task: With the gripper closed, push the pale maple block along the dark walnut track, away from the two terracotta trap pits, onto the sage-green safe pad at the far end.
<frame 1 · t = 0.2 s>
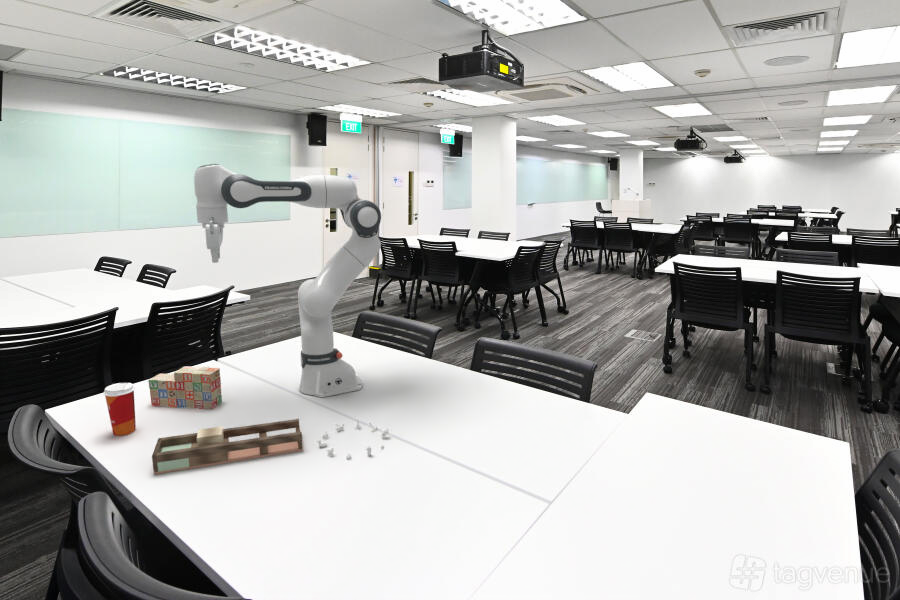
hand: (216, 260, 164), 48 cm above the table, tool pointing down, fingers open, 8 cm apart
stack of blocks: (187, 404, 170), on the table
maple block: (211, 445, 137), point 3 cm above the table, touching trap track
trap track: (232, 452, 139), on the table
game piece set: (353, 444, 146), on the table
paper cup: (124, 432, 150), on the table
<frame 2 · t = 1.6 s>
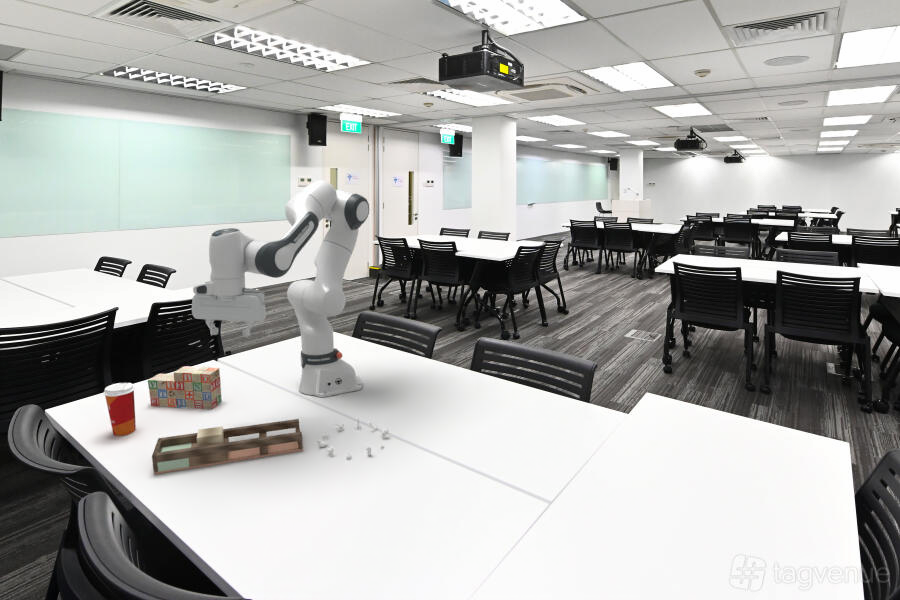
hand: (230, 335, 145), 29 cm above the table, tool pointing down, fingers open, 8 cm apart
nothing on the table moved.
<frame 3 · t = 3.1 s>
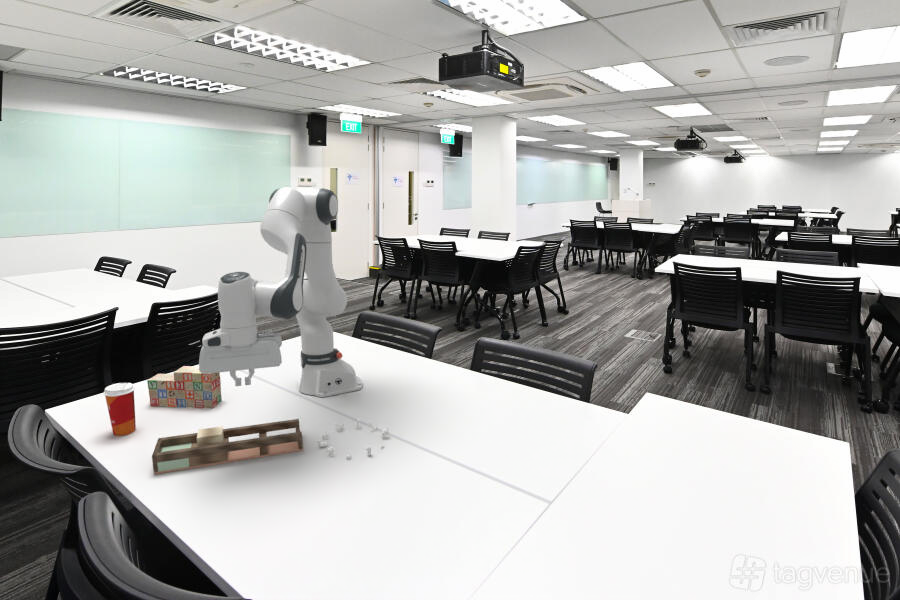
hand: (243, 384, 136), 19 cm above the table, tool pointing down, fingers closed
nothing on the table moved.
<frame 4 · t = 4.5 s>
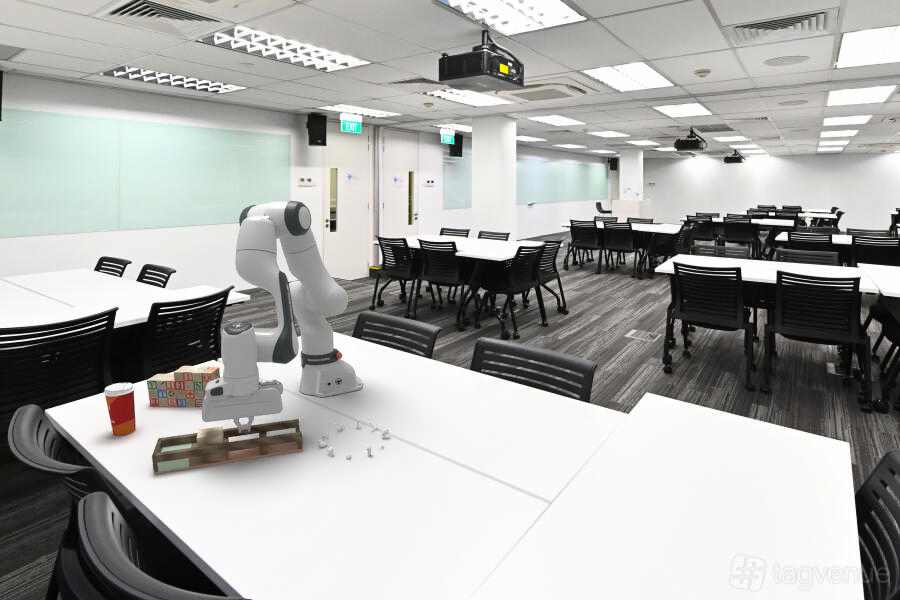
hand: (244, 431, 139), 6 cm above the table, tool pointing down, fingers closed
nothing on the table moved.
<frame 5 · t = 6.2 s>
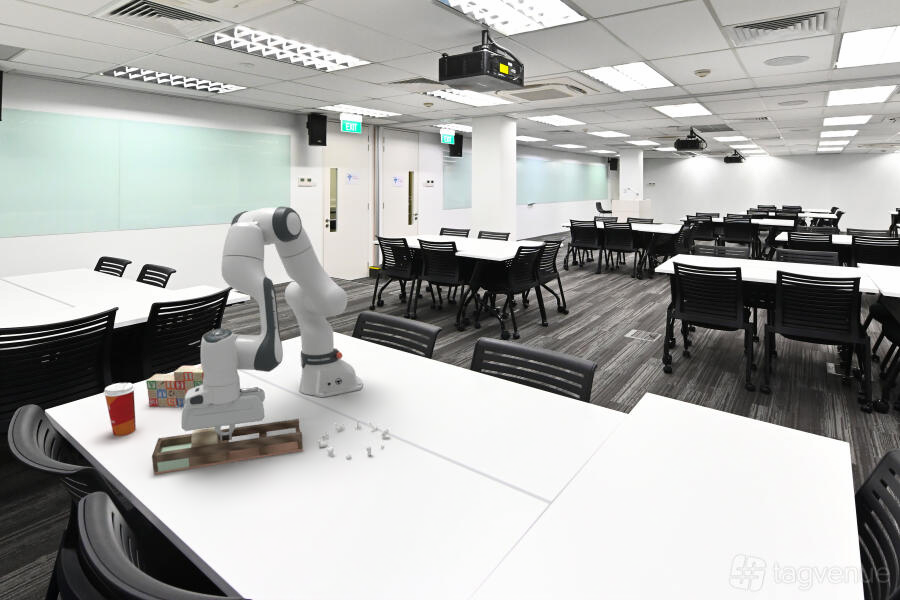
hand: (226, 439, 137), 4 cm above the table, tool pointing down, fingers closed
maple block: (206, 446, 136), point 3 cm above the table, touching gripper
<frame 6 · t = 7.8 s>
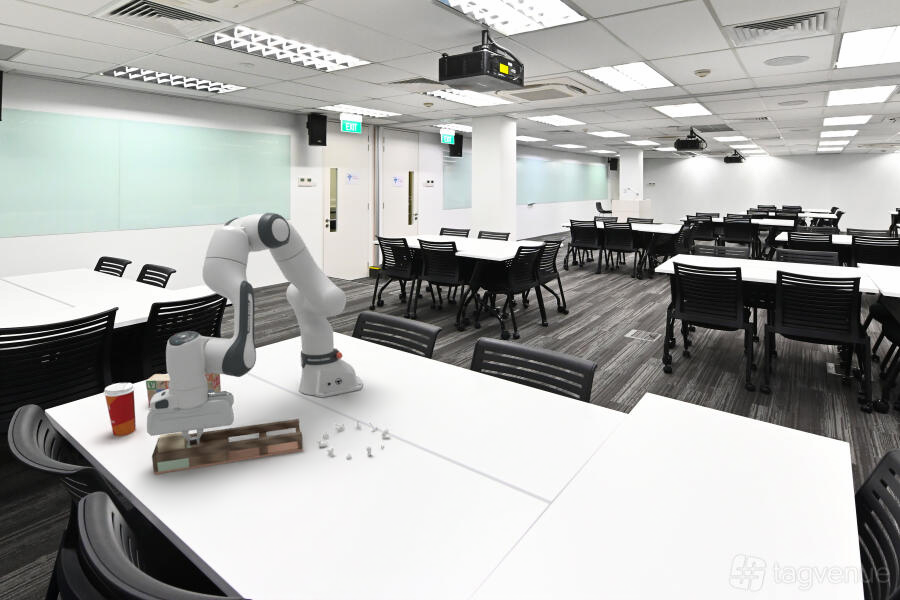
hand: (194, 444, 135), 4 cm above the table, tool pointing down, fingers closed
maple block: (173, 451, 133), point 3 cm above the table, touching gripper, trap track
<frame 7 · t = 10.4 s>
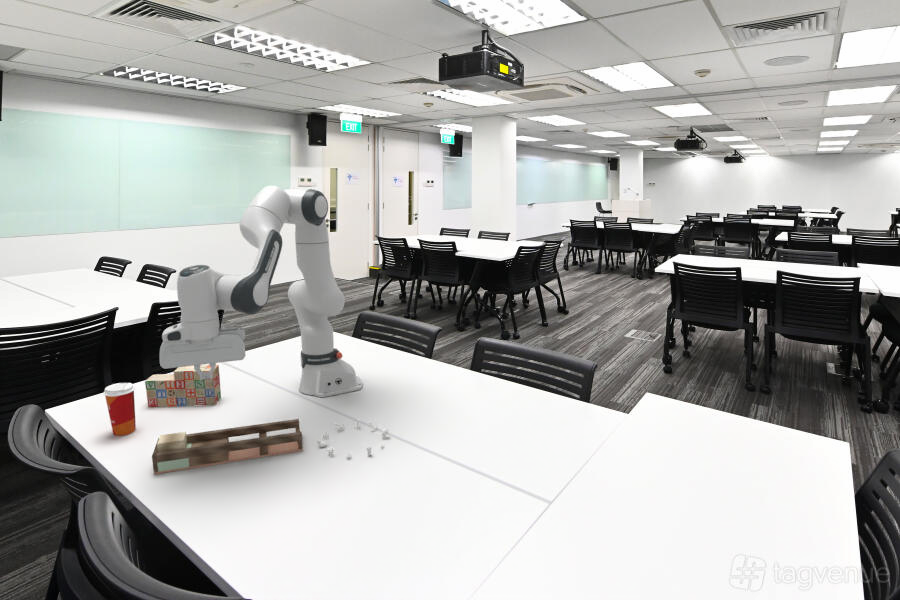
hand: (206, 379, 135), 21 cm above the table, tool pointing down, fingers closed
maple block: (173, 451, 133), point 3 cm above the table, touching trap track
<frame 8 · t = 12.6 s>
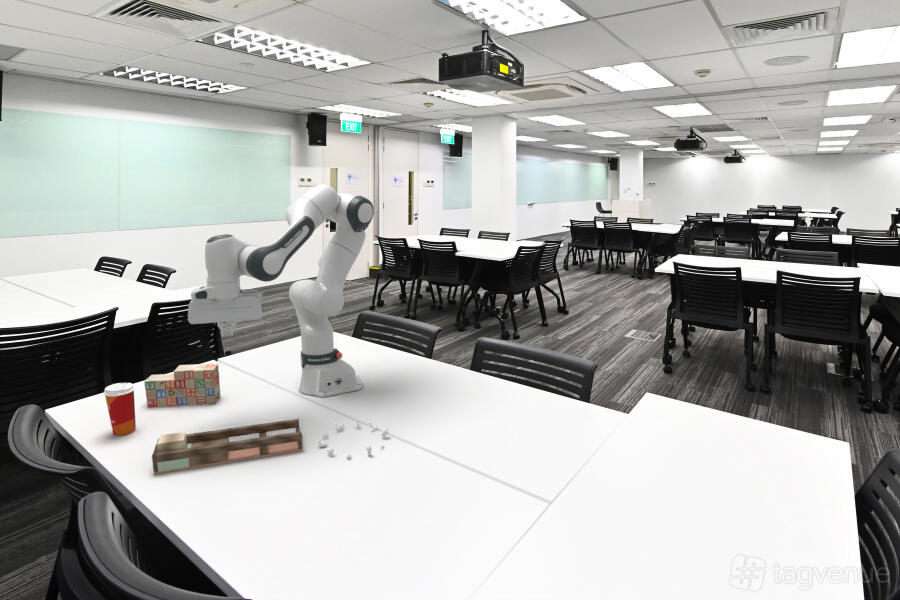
hand: (227, 335, 153), 27 cm above the table, tool pointing down, fingers closed
at the end: maple block 0.3 cm from the target spot on the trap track, point 3.0 cm above the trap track's base; maple block tilted 0° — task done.
